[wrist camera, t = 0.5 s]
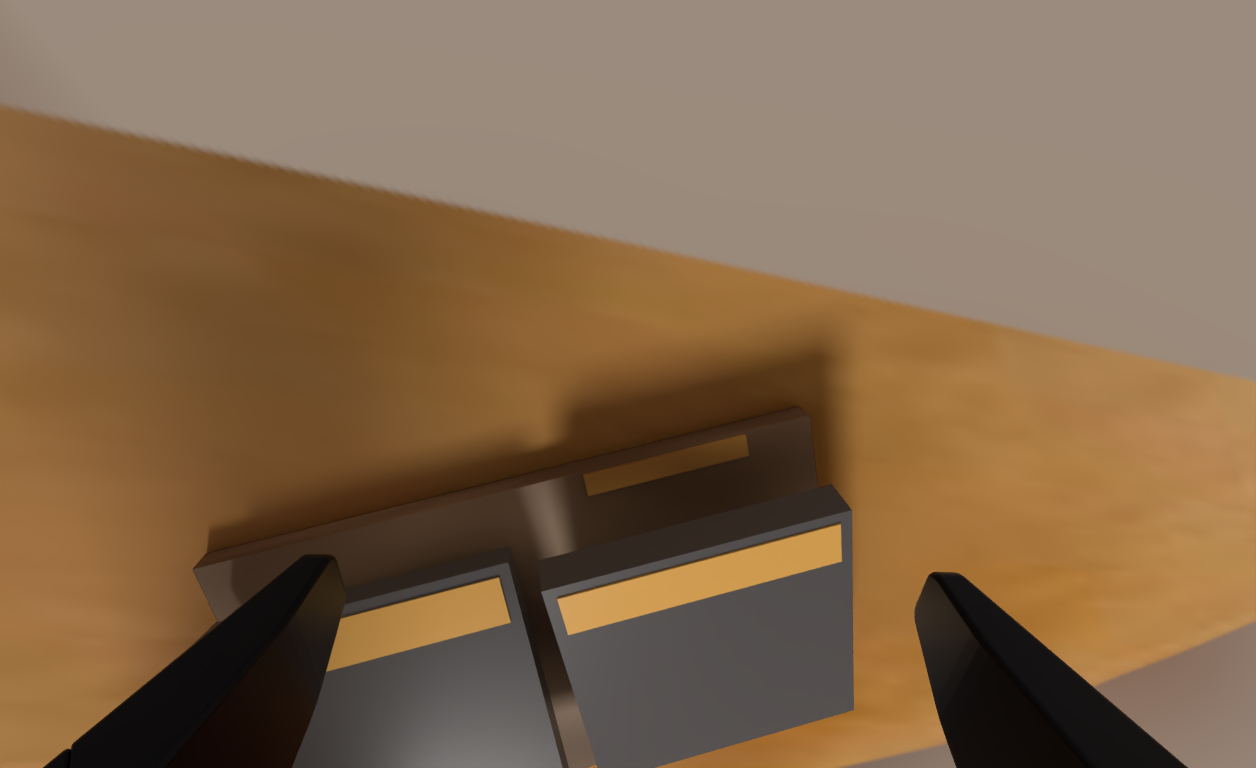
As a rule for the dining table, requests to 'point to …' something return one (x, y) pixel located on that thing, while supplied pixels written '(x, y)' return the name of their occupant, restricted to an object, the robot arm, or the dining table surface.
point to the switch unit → (543, 524)
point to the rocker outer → (708, 629)
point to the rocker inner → (435, 675)
